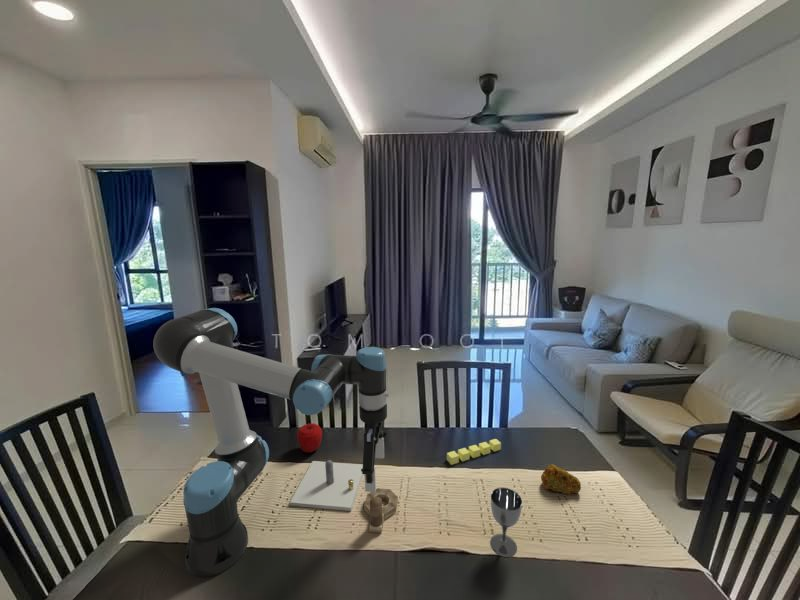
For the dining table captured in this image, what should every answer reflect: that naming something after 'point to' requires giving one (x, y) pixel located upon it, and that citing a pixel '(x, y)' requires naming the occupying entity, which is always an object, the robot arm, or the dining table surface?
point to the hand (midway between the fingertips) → (375, 473)
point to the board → (328, 486)
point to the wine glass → (505, 519)
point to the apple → (309, 437)
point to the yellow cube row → (473, 451)
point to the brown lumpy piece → (560, 480)
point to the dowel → (350, 484)
